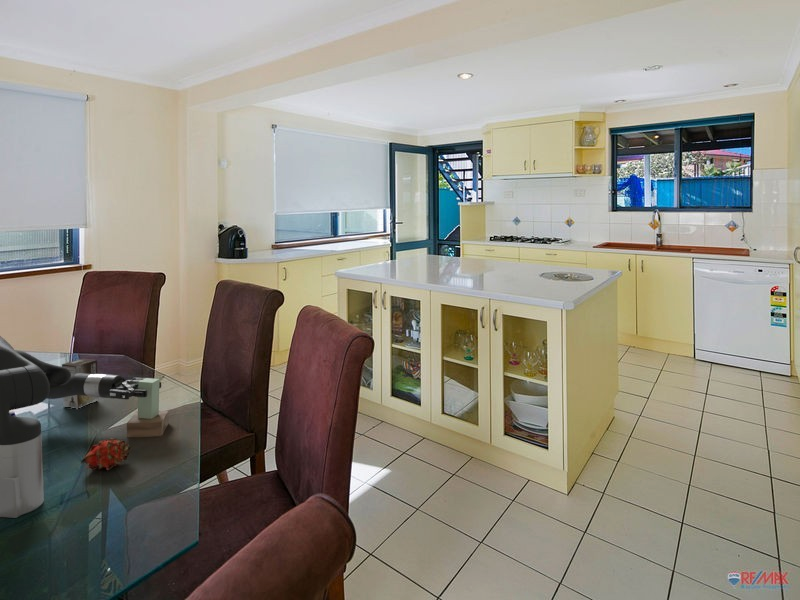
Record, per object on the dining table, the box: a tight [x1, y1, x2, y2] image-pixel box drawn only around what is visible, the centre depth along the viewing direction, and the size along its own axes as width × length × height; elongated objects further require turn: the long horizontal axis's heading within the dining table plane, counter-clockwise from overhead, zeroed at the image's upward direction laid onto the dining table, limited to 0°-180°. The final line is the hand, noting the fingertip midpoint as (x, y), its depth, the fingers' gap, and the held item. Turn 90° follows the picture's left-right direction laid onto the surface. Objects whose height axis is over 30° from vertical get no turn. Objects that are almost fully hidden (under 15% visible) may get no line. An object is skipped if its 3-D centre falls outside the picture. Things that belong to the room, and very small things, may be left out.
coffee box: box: [61, 357, 99, 408], centre depth 172 cm, size 9×6×16 cm
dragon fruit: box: [80, 437, 131, 471], centre depth 131 cm, size 8×8×12 cm
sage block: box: [137, 377, 161, 419], centre depth 155 cm, size 4×4×12 cm
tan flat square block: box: [126, 410, 169, 438], centre depth 156 cm, size 10×10×5 cm
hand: (154, 389), depth 154 cm, fingers open, 8 cm apart
